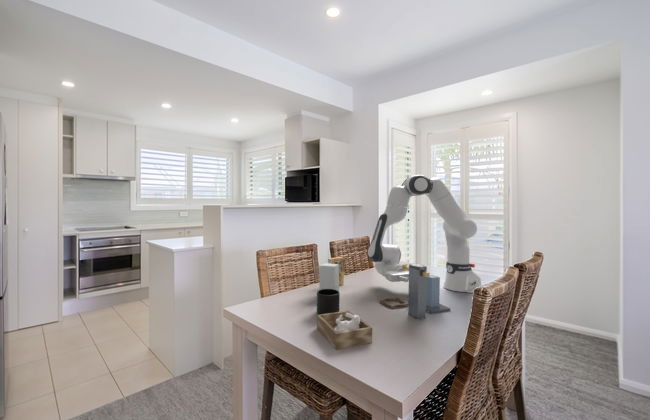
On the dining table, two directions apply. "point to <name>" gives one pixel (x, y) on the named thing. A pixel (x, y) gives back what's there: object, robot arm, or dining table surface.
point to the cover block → (432, 291)
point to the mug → (327, 301)
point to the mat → (437, 309)
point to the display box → (347, 337)
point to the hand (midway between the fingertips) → (415, 279)
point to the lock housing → (417, 291)
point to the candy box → (341, 267)
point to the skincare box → (329, 276)
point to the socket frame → (384, 301)
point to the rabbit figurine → (347, 323)
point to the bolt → (423, 273)
